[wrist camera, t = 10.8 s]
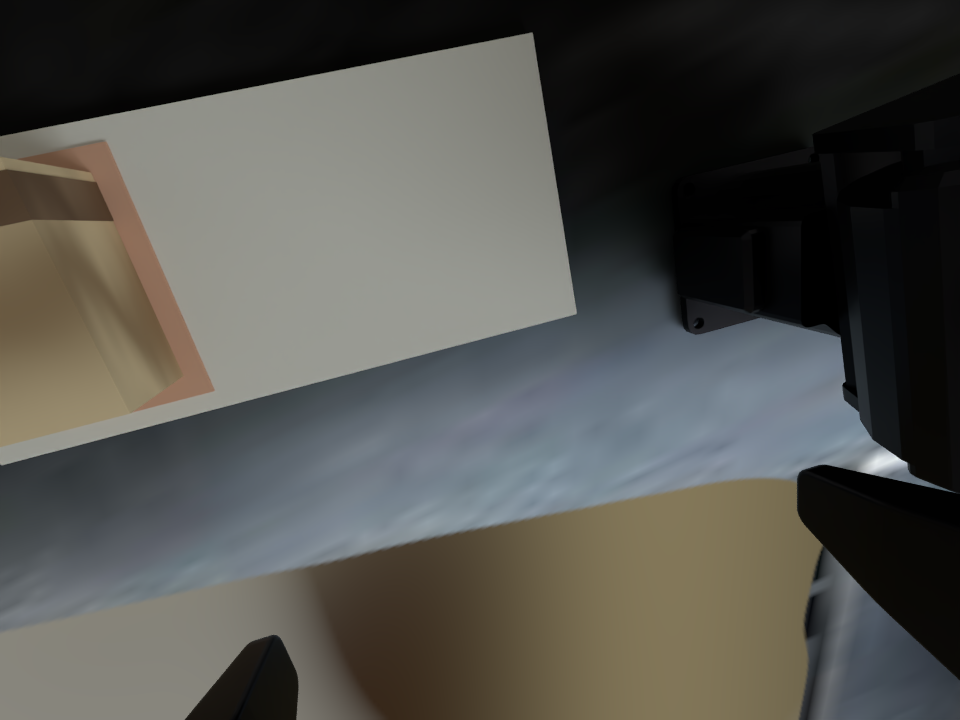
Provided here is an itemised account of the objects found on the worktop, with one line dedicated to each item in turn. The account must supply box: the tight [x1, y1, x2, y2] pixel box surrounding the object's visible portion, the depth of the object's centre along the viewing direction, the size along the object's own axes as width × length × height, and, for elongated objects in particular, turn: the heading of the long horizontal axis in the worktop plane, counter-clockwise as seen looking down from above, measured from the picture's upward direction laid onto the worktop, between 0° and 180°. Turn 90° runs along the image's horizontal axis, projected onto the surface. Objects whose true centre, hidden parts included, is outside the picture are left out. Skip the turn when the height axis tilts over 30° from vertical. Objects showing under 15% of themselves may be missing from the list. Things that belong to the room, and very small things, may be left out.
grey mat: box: [0, 33, 577, 465], centre depth 16 cm, size 22×10×1 cm, turn 103°
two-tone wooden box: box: [0, 157, 183, 447], centre depth 14 cm, size 7×4×4 cm, turn 13°
